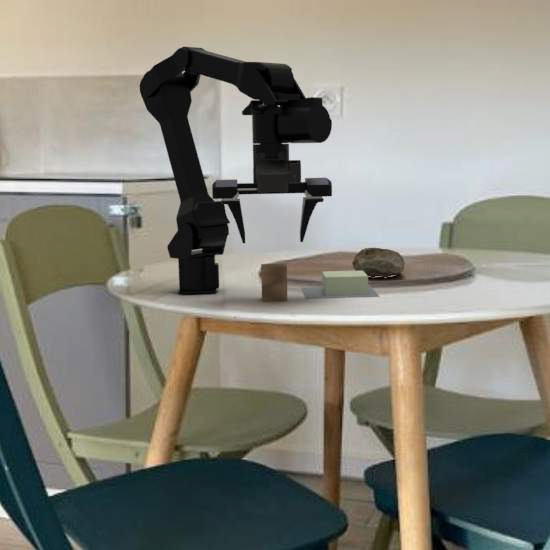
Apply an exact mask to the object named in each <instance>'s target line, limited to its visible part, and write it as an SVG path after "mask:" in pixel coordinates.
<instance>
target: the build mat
mask: <svg viewBox="0 0 550 550" xmlns="http://www.w3.org/2000/svg"><path fill="white" fill-rule="evenodd" d="M300 288H301V291H302V293H303V297H304V298H305V300H311V299H312V300H313V299H345V298H348V299H349V298H353V299H354V298H379V297H380V295H379V294H378V293H377V292H376V291H375V290H374V289H373V287H372V286H371V285H370V284H368V294H361V295H325V293H324V291H323V289H322V286H305V287H304V286H303V287H302V286H301V287H300Z"/></svg>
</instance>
